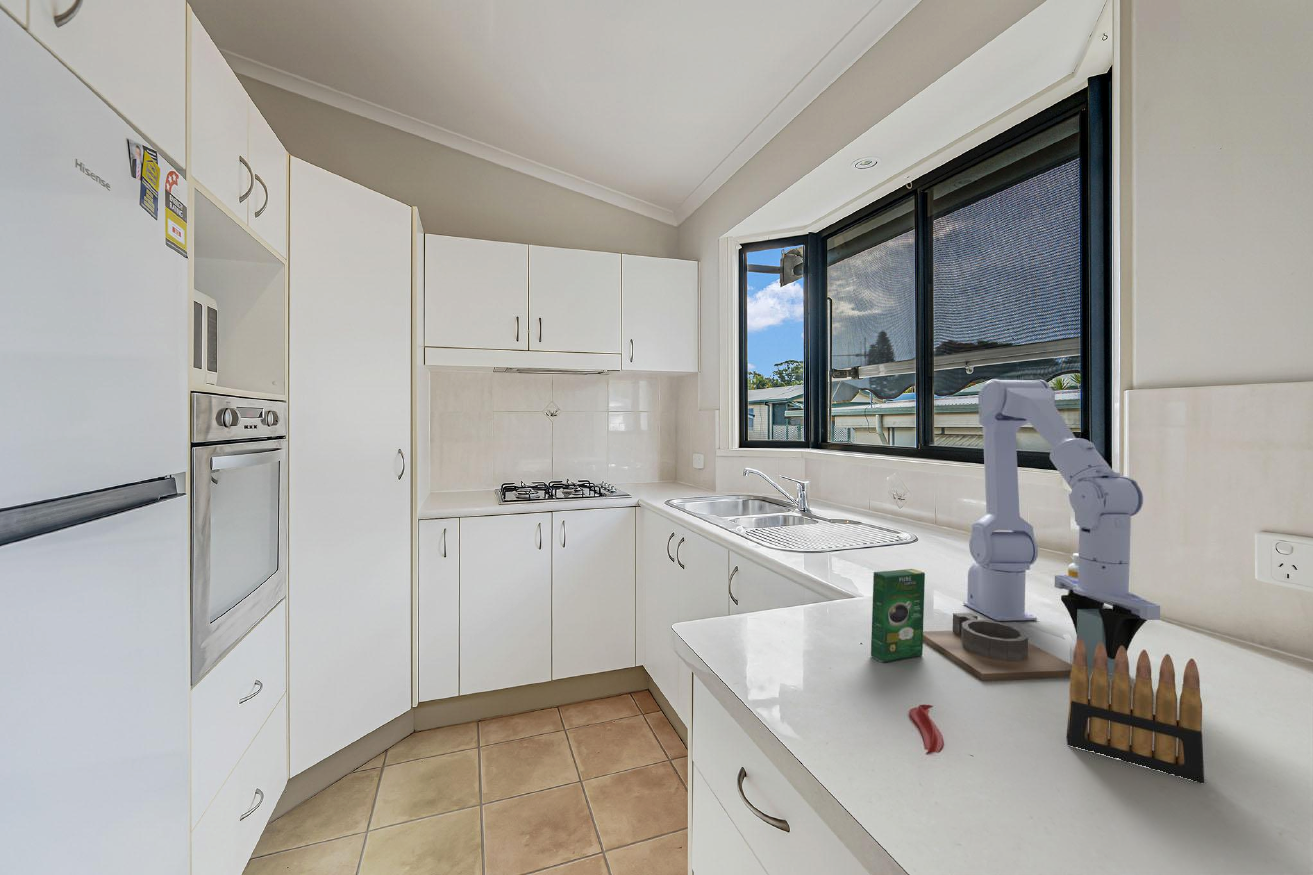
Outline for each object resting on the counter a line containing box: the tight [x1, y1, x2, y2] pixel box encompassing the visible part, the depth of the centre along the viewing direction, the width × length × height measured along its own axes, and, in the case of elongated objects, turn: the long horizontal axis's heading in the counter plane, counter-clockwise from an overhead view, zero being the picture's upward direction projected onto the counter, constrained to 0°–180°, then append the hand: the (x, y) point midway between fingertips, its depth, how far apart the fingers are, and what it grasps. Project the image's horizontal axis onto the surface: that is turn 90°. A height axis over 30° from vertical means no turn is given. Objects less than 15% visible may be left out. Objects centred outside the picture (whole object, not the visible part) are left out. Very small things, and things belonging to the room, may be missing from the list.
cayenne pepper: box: [909, 704, 944, 755], centre depth 61 cm, size 12×5×2 cm, turn 142°
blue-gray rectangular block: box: [1076, 607, 1115, 675], centre depth 77 cm, size 4×4×8 cm
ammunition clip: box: [1066, 638, 1205, 785], centre depth 56 cm, size 11×2×12 cm, turn 55°
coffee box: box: [870, 568, 926, 663], centre depth 80 cm, size 8×3×13 cm, turn 110°
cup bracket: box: [923, 612, 1072, 682], centre depth 81 cm, size 15×15×4 cm
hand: (1101, 651), depth 77 cm, fingers closed on blue-gray rectangular block, 4 cm apart
